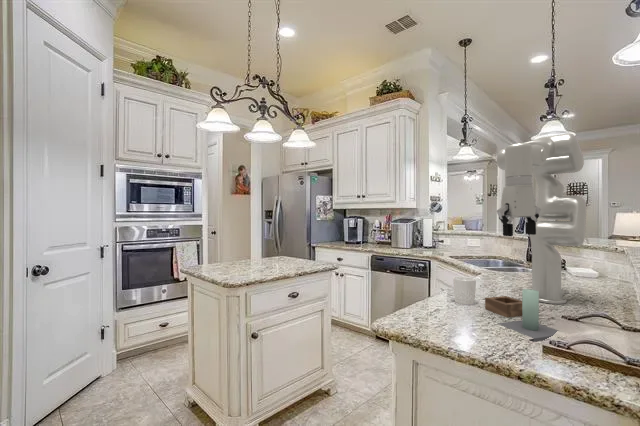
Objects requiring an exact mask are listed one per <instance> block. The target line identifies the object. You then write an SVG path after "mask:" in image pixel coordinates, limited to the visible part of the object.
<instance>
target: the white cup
mask: <svg viewBox="0 0 640 426" xmlns="http://www.w3.org/2000/svg"><path fill="white" fill-rule="evenodd" d="M452 280H453V281H452V282H453V297H454V302H455V303H456V304H459V305H466V306H467V305H470V306H471V305H474V304H475V302H476V300H475V299H476V290H477V289H476V285H477V279H476V278H475V277H471V276H453V278H452Z"/></svg>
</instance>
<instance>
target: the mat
mask: <svg viewBox="0 0 640 426" xmlns="http://www.w3.org/2000/svg"><path fill="white" fill-rule="evenodd" d="M496 324H497V325H499V326H502V327H505V328H507V329H510V330H512V331H514V332H517V333H519V334H521V335H524V336H526V337H529V339H527V340H528V341H531V342H533V343H536V342H543V340H544V341H546V340H545V339H547V338H549V337H551V336H553V335H554V334H555V333H556V332H557V331H559V330H557V329H555V328H553V327H550V326H546V325H544V324H541V323H539V330H538V331H532V330H527V329H524V328H523V327H522V320H521V319H520V320H513V321H506V322H505V321H504V322H498V323H496Z"/></svg>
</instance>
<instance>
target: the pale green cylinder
mask: <svg viewBox="0 0 640 426" xmlns="http://www.w3.org/2000/svg"><path fill="white" fill-rule="evenodd" d="M521 291H522V292H521V294H522V295H521V296H522V298H521V301H522V316H521V318H522V327H523V328H524V329H527V330H532V331H538V330H539V324H540V322H539V321H540V320H539V318H540V315H539V314H540V311H539V309H540V306H539V305H540V304H539V303H540V302H539V291H537V290H532V288H530V289H529V288H523V289H522V290H521Z"/></svg>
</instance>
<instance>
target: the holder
mask: <svg viewBox="0 0 640 426" xmlns="http://www.w3.org/2000/svg"><path fill="white" fill-rule="evenodd" d="M484 309H485V310H486V311H488V312H491V313H494V314H496V315H500V316H501V317H504V318H514V317H515V318H516V317H522V299H517V298H513V297H510V296H507V295H501V296H500V295H499V296H490V297H484Z"/></svg>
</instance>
